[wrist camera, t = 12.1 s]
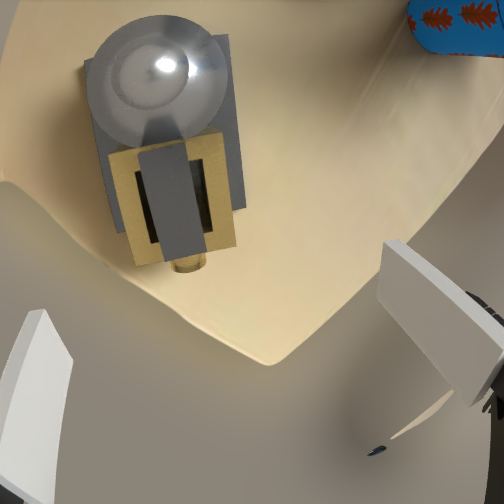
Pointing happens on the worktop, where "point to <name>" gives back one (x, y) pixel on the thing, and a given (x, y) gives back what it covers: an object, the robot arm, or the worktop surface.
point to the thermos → (459, 26)
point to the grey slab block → (172, 200)
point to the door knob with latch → (167, 126)
